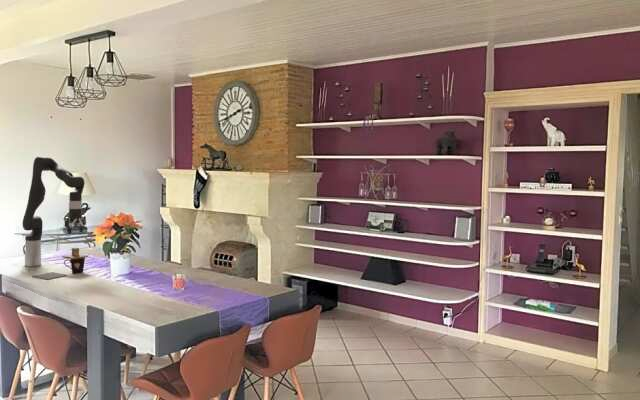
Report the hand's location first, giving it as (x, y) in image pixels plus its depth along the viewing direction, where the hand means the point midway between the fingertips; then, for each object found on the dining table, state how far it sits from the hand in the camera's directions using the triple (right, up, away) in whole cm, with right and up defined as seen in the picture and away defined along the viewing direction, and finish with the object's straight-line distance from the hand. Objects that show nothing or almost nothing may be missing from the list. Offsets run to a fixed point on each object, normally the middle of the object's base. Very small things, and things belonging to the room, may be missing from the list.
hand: (75, 232), depth 340 cm
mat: (-11, -26, -11) cm, 30 cm away
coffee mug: (-1, -26, +2) cm, 26 cm away
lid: (-1, -16, +1) cm, 16 cm away
